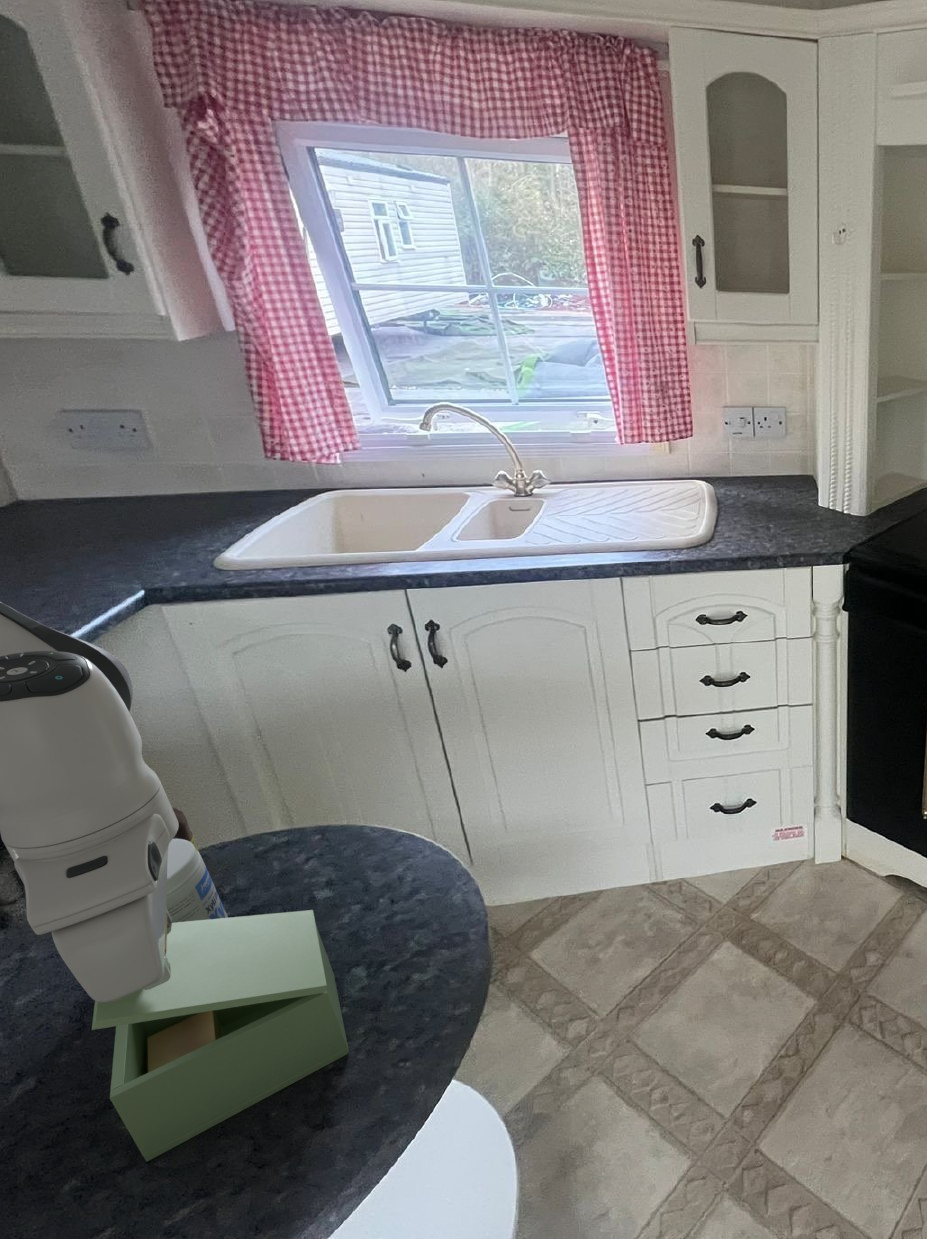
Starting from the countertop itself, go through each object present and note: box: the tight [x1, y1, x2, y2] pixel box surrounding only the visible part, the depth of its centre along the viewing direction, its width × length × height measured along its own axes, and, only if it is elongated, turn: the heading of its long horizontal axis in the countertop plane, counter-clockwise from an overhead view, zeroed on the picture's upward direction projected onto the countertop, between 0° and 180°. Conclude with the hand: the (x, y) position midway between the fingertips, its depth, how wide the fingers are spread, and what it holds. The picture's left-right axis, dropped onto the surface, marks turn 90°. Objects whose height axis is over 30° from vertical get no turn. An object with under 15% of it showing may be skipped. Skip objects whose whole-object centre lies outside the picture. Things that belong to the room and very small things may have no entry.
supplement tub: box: [166, 839, 229, 923], centre depth 79 cm, size 10×10×15 cm
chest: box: [109, 922, 350, 1162], centre depth 72 cm, size 15×12×9 cm
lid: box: [91, 909, 327, 1031], centre depth 69 cm, size 15×12×5 cm
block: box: [147, 1011, 225, 1073], centre depth 71 cm, size 5×5×5 cm
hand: (158, 955), depth 66 cm, fingers closed on lid, 5 cm apart
